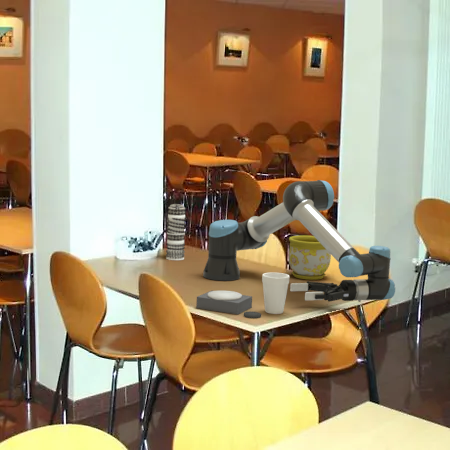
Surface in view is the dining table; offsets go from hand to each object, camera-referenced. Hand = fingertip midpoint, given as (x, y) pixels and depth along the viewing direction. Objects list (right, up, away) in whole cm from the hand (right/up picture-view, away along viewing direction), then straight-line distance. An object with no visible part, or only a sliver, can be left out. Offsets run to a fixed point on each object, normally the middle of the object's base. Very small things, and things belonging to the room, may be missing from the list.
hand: (297, 291), depth 288 cm
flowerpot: (+10, +1, +62) cm, 63 cm away
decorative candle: (-48, +8, +90) cm, 102 cm away
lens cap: (-16, -8, -7) cm, 19 cm away
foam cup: (-8, -7, 0) cm, 11 cm away
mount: (-26, -6, +3) cm, 27 cm away
